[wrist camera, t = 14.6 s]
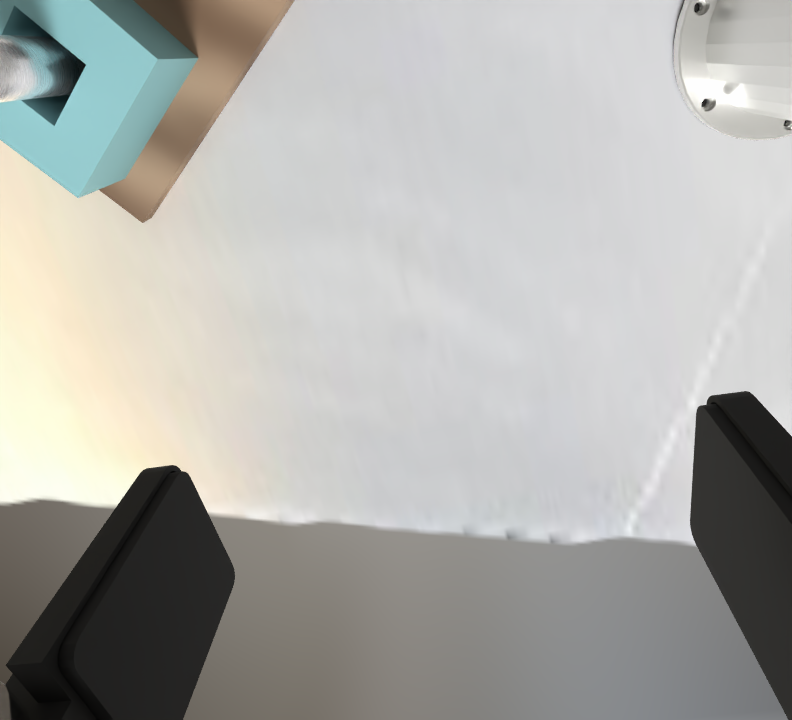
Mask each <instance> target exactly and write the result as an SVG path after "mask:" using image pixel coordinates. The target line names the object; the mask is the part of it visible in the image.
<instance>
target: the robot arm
mask: <svg viewBox="0 0 792 720" xmlns="http://www.w3.org/2000/svg"><path fill="white" fill-rule="evenodd" d="M696 3H698V4H699V5H700V8H699V10H698V12H694V6H695V4H696ZM674 70H675V75H676V80H677V85H678V88H679V90H680V92H681V95H682V97H683V99H684V102H685V103H686V105H687V106H688V107H689V109H690V110H691V111H692V113H693V114H694V115H695V117H697V118H698V119H699V120H700V121H701V122H703V123H704V124H705V125H706V126H707V127H709V128H711V129H713V130H715V131H717V132H719V133H721V134H724V135H727V136H731V137H734V138H737V139H746V140H754V141H758V140H771V139H778V138H782V137H786V136H790V135H792V0H685V2H684V4H683V7H682V10H681V13H680V16H679V19H678V22H677V28H676V34H675V39H674ZM704 99H706V101H707V102H706V105H705V106H703V107H701V105H702V102H703V100H704ZM785 120H787V122H786V124H785V125H784V122H785ZM690 525H691V531H692V535H693V538H694V541H695V543H696V545H697V547H698V549H699V551H700V553H701V554H702V557H703V558H704V560H705V562H706V564H707V566H708V568H709V570H710V572H711V574H712V575H713V577H714V579H715V581H716V583H717V585H718V587H719V589H720V590H721V593H722V594H723V596H724V598H725V600H726V602H727V604H728V606H729V608H730V610H731V611H732V613H733V615H734V617H735V619H736V621H737V623H738V625H739V627H740V628H741V630H742V632H743V634H744V636H745V638H746V640H747V642H748V644H749V646H750V648H751V649H752V651H753V653H754V655H755V657H756V659H757V661H758V662H759V665H760V667H761V668H762V670H763V672H764V674H765V676H766V678H767V680H768V682H769V684H770V685H771V687H772V689H773V691H774V693H775V695H776V697H777V699H778V701H779V703H780V704H781V706H782V708H783V710H784V712H785V714H786V716H787V718H788V720H792V436H791V435H790V434H789V433H788V432H787V431H786V430H785V429H784V428H783V427H782V426H781V424H780V423H779V422H778V421H777V420H776V419H775V418H774V417H773V416H772V415H771V414H770V413H769V411H768V410H767V409H766V408H765V407H764V406H763V405H762V404H761V403H760V402H759V401H758V400H757V398H756V397H755V396H754V395H753V394H751V393H750V392H747V391H744V392H736V393H728V394H721V395H713V396H710V397H709V398H708V400H707V405H703V406H699V407H698V409H697V413H696V428H695V446H694V463H693V481H692V498H691V515H690ZM234 580H235V572H234V568H233V565H232V563H231V560H230V558H229V556H228V554H227V552H226V550H225V548H224V546H223V544H222V542H221V540H220V538H219V536H218V534H217V532H216V530H215V527H214V525H213V523H212V521H211V519H210V517H209V515H208V513H207V511H206V509H205V507H204V505H203V502H202V500H201V498H200V496H199V494H198V492H197V490H196V488H195V486H194V484H193V482H192V480H191V478H190V476H189V474H188V473H186V472H183V471H181V470H180V468H178V467H177V466H174V465H170V466H163V467H155V468H147V469H145V470H143V471H142V472H141V473H140V474H139V476H138V477H137V478H136V480H135V481H134V483H133V484H132V486H131V487H130V488H129V490H128V491H127V493H126V494H125V496H124V497H123V498H122V500H121V501H120V503H119V504H118V506H117V507H116V508H115V510H114V511H113V513H112V514H111V516H110V517H109V519H108V520H107V521H106V523H105V524H104V526H103V527H102V528H101V530H100V531H99V533H98V534H97V536H96V537H95V538H94V540H93V541H92V543H91V544H90V546H89V547H88V548H87V550H86V551H85V553H84V554H83V556H82V557H81V558H80V560H79V561H78V563H77V564H76V566H75V567H74V568H73V570H72V571H71V573H70V574H69V576H68V577H67V579H66V580H65V582H64V583H63V584H62V586H61V587H60V589H59V590H58V592H57V593H56V594H55V596H54V597H53V599H52V600H51V601H50V603H49V604H48V606H47V607H46V609H45V610H44V612H43V613H42V614H41V616H40V617H39V619H38V620H37V621H36V623H35V624H34V626H33V627H32V629H31V630H30V631H29V633H28V634H27V636H26V637H25V639H24V640H23V641H22V643H21V644H20V646H19V647H18V649H17V650H16V652H15V653H14V654H13V656H12V657H11V659H10V660H9V662H8V663H7V664H6V666H7V667H8V669H9V670H10V671H11V672H12V673H13V674H12V676H11V677H10V679H9V680H8V682H7V683H6V685H5V684H3V683H1V682H0V720H183V718H184V715H185V712H186V710H187V707H188V705H189V702H190V699H191V697H192V694H193V691H194V689H195V686H196V683H197V681H198V678H199V675H200V673H201V670H202V667H203V665H204V662H205V659H206V657H207V654H208V652H209V649H210V646H211V643H212V641H213V638H214V636H215V633H216V630H217V628H218V625H219V623H220V620H221V617H222V614H223V612H224V609H225V607H226V604H227V601H228V599H229V596H230V593H231V591H232V588H233V585H234Z"/></svg>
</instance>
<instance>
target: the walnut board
mask: <svg viewBox="0 0 792 720" xmlns="http://www.w3.org/2000/svg"><path fill="white" fill-rule="evenodd" d="M133 1H135V2H136V3H137V4H138V5H139V6H140V7H141V8H142V9H144V10H145V11H146V12H147V13H148V14H149V15H150V16H152V17H153V18H154V19H155V20H156V21H157V22H158V23H159V24H161V25H162V26H163V27H164V28H165V29H166V30H167V31H168V32H170V33H171V34H172V35H173V36H174V37H175V38H176V39H177V40H179V41H180V42H181V43H182V44H183V45H184V46H185V47H187V48H188V49H189V50H190V51H191V52H192V53H193V54H194V55H196V56H197V57H198V60H197V62H196V63H195V65H194V67H193V68H192V70H191V71H190V73H189V75H188V76H187V78H186V80H185V81H184V83H183V85H182V86H181V88H180V90H179V91H178V93H177V94H176V96H175V98H174V99H173V101H172V103H171V104H170V106H169V108H168V109H167V111H166V113H165V114H164V116H163V117H162V119H161V121H160V122H159V124H158V126H157V127H156V129H155V131H154V132H153V134H152V135H151V137H150V139H149V140H148V142H147V144H146V145H145V147H144V149H143V150H142V152H141V154H140V155H139V157H138V158H137V160H136V162H135V163H134V165H133V167H132V168H131V170H130V172H129V173H128V175H127V177H126V178H125V179H123V180H121V181H118V182H116V183H113V184H111V185H108V186H106V187H104V188H101V189H99V190H100V191H101V192H103V193H104V194H105V195H107V196H108V197H109V198H111V199H112V200H113V201H114V202H116V203H117V204H118V205H120V206H121V207H122V208H124V209H125V210H126V211H128V212H129V213H130V214H132V215H133V216H134V217H135V218H137V219H138V220H139V221H141V222H142V223H143V222H145V221H147V220H149V219H150V218H152V216H153V215H154V213H155V212H156V210H157V209H158V207H159V206H160V204H161V203H162V201H163V200H164V198H165V197H166V195H167V194H168V192H169V191H170V189H171V187H172V186H173V184H174V183H175V181H176V180H177V178H178V177H179V175H180V174H181V172H182V171H183V169H184V168H185V166H186V165H187V163H188V162H189V160H190V159H191V157H192V156H193V154H194V152H195V151H196V149H197V148H198V146H199V145H200V143H201V142H202V140H203V139H204V137H205V136H206V134H207V133H208V131H209V130H210V128H211V127H212V125H213V124H214V122H215V121H216V119H217V117H218V116H219V114H220V113H221V111H222V110H223V108H224V107H225V105H226V104H227V102H228V101H229V99H230V98H231V96H232V95H233V93H234V92H235V90H236V89H237V87H238V86H239V84H240V83H241V81H242V79H243V78H244V76H245V75H246V73H247V72H248V70H249V69H250V67H251V66H252V64H253V63H254V61H255V60H256V58H257V57H258V55H259V54H260V52H261V51H262V49H263V48H264V46H265V44H266V43H267V41H268V40H269V38H270V37H271V35H272V34H273V32H274V31H275V29H276V28H277V26H278V25H279V23H280V22H281V20H282V19H283V17H284V16H285V14H286V13H287V11H288V9H289V8H290V6H291V5H292V3H293V2H294V0H133Z"/></svg>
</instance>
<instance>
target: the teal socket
mask: <svg viewBox="0 0 792 720" xmlns="http://www.w3.org/2000/svg"><path fill="white" fill-rule="evenodd" d="M0 35H16V36H39V37H53V38H54V39H56V40H57V41H58V42H59V43H60V44H62V45H63V46H64V47H65V48H67V49H68V50H69V51H70V52H71V53H73V54H74V55H75V56H76V57H77V58H79V59H80V60H81V61H82V62H83V63H85V64H86V66H85V68H84V70H83V72H82V74H81V76H80V78H79V80H78V82H77V84H76V85H75V87H74V89H73V91H72V93H71V94H70V95H61V96H52V97H44V98H35V99H26V100H17V101H9V102H0V140H1V141H3V142H4V143H5V144H7V145H8V146H9V147H11V148H12V149H13V150H15V151H16V152H17V153H19V154H20V155H21V156H23V157H24V158H25V159H27V160H28V161H29V162H31V163H32V164H33V165H35V166H36V167H37V168H39V169H40V170H41V171H43V172H44V173H45V174H47V175H48V176H49V177H51V178H52V179H53V180H55V181H56V182H57V183H59V184H60V185H61V186H63V187H64V188H65V189H67V190H68V191H69V192H71V193H72V194H73V195H75V196H76V197H77V198H79V197H82V196H84V195H87V194H89V193H92V192H94V191H96V190H99V189H101V188H104V187H106V186H108V185H111V184H113V183H116V182H118V181H121V180H123V179H125V178H126V177H127V175H128V173H129V172H130V170H131V168H132V167H133V165H134V163H135V162H136V160H137V158H138V157H139V155H140V154H141V152H142V150H143V149H144V147H145V145H146V144H147V142H148V140H149V139H150V137H151V135H152V134H153V132H154V131H155V129H156V127H157V126H158V124H159V122H160V121H161V119H162V117H163V116H164V114H165V113H166V111H167V109H168V108H169V106H170V104H171V103H172V101H173V99H174V98H175V96H176V94H177V93H178V91H179V90H180V88H181V86H182V85H183V83H184V81H185V80H186V78H187V76H188V75H189V73H190V71H191V70H192V68H193V67H194V65H195V63H196V62H197V60H198V57H197V56H196V55H194V54H193V53H192V52H191V51H190V50H189V49H188V48H187V47H185V46H184V45H183V44H182V43H181V42H180V41H179V40H177V39H176V38H175V37H174V36H173V35H172V34H171V33H170V32H168V31H167V30H166V29H165V28H164V27H163V26H162V25H161V24H159V23H158V22H157V21H156V20H155V19H154V18H153V17H152V16H150V15H149V14H148V13H147V12H146V11H145V10H144V9H142V8H141V7H140V6H139V5H138V4H137V3H136V2H135V1H133V0H0Z"/></svg>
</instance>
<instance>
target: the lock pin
mask: <svg viewBox="0 0 792 720" xmlns="http://www.w3.org/2000/svg"><path fill="white" fill-rule="evenodd" d="M85 66H86V64H85V63H83V62H82V61H81V60H80V59H79V58H77V57H76V56H75V55H74V54H73V53H71V52H70V51H69V50H68V49H67V48H65V47H64V46H63V45H62V44H60V43H59V42H58V41H57V40H56V39H54V38H53V37H39V36H16V35H0V102H9V101H17V100H26V99H35V98H44V97H52V96H61V95H70V94H71V93H72V91H73V89H74V87H75V85H76V84H77V82H78V80H79V78H80V76H81V74H82V72H83V70H84V68H85Z"/></svg>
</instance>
